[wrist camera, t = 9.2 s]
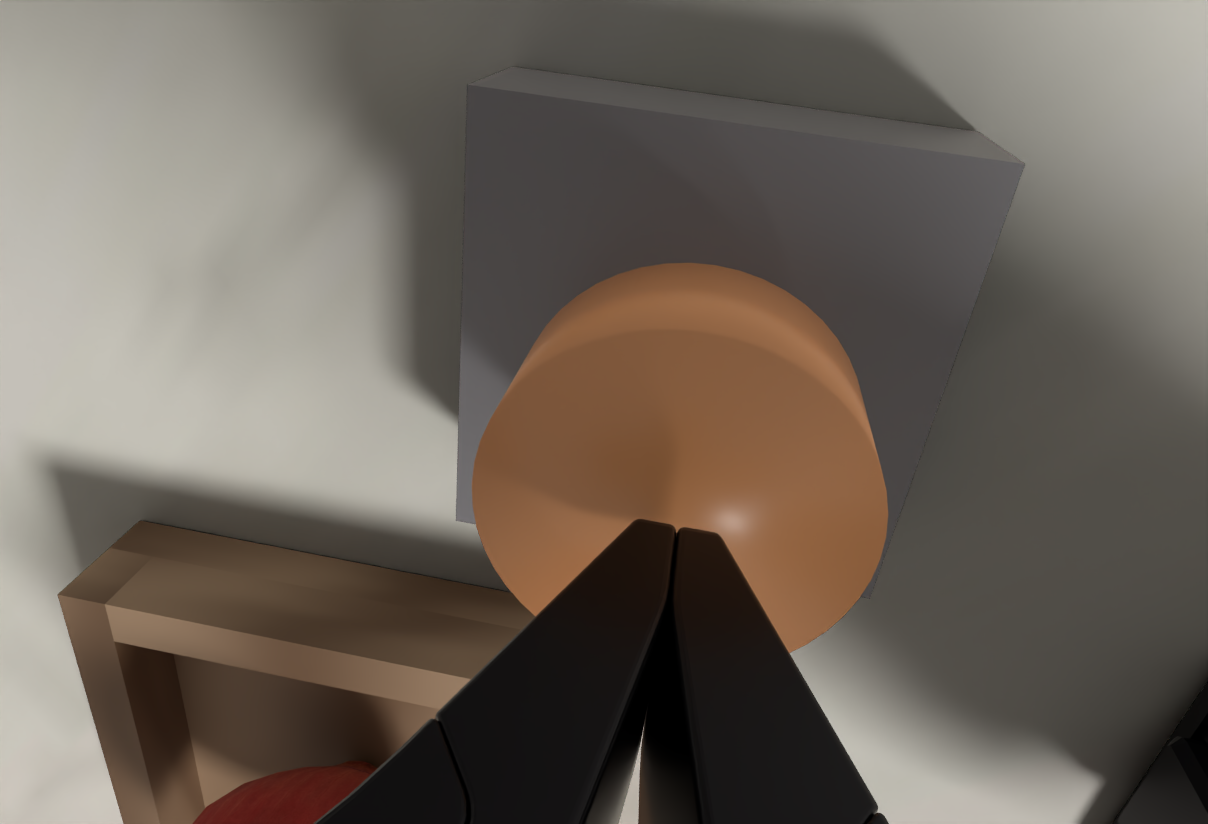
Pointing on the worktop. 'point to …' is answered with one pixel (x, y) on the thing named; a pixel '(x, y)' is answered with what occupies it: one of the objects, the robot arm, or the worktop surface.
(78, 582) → the tray
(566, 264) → the button housing
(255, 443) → the worktop surface
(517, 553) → the button
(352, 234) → the worktop surface
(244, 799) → the onion
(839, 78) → the worktop surface
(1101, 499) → the worktop surface
